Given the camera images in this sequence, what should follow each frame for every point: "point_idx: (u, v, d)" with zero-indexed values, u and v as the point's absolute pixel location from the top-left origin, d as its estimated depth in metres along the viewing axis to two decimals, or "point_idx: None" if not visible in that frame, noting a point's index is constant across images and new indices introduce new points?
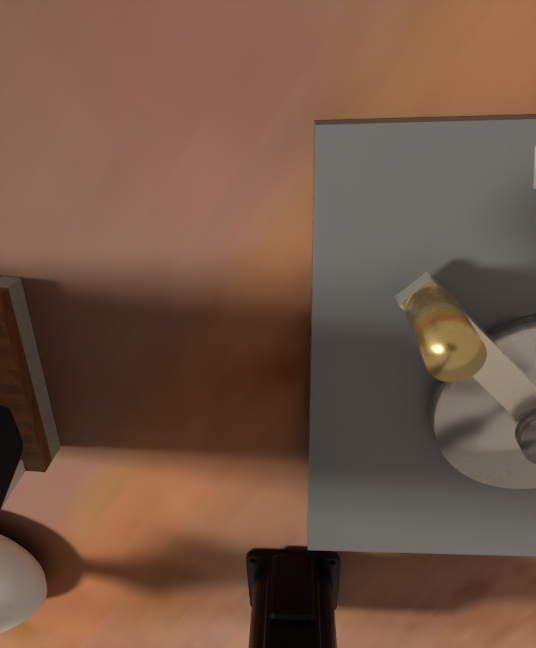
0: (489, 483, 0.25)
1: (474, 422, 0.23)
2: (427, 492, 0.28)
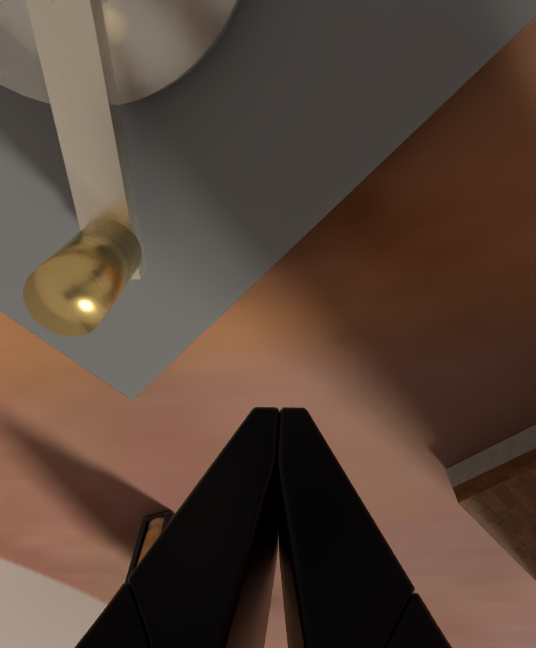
0: None
1: None
2: None
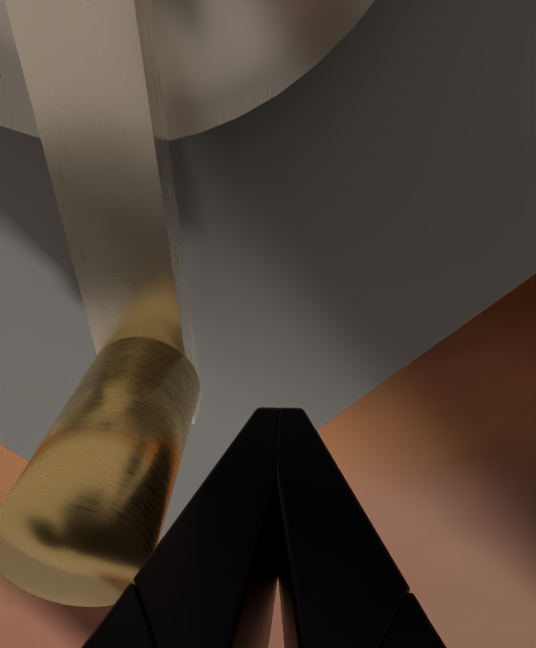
0: None
1: None
2: None
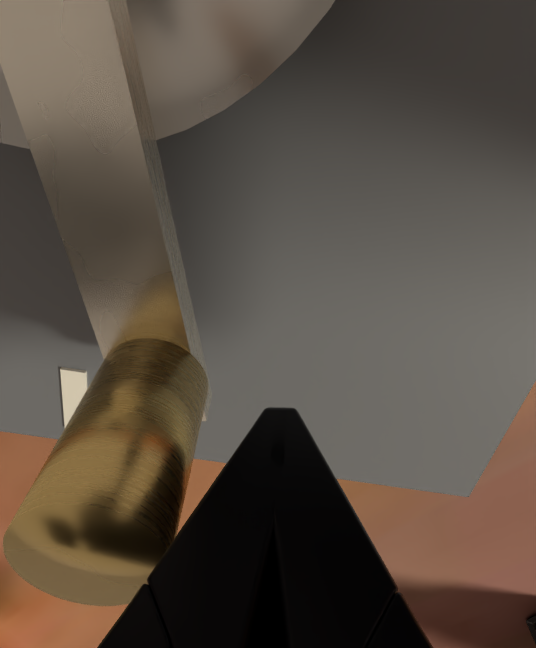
0: None
1: None
2: None
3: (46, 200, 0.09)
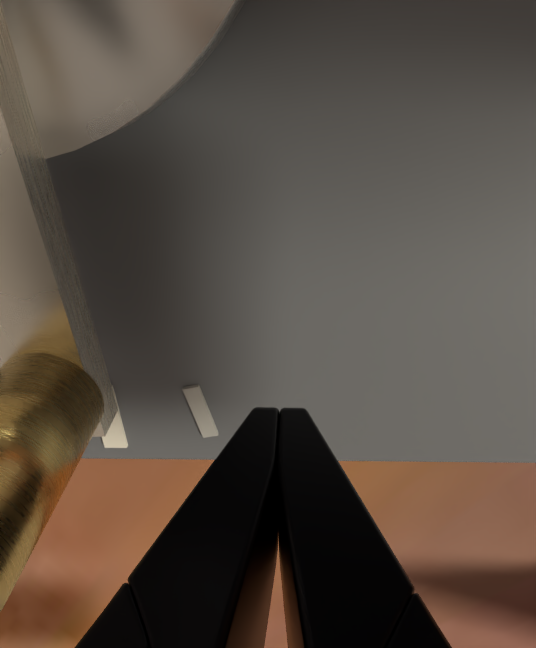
0: None
1: None
2: None
3: None
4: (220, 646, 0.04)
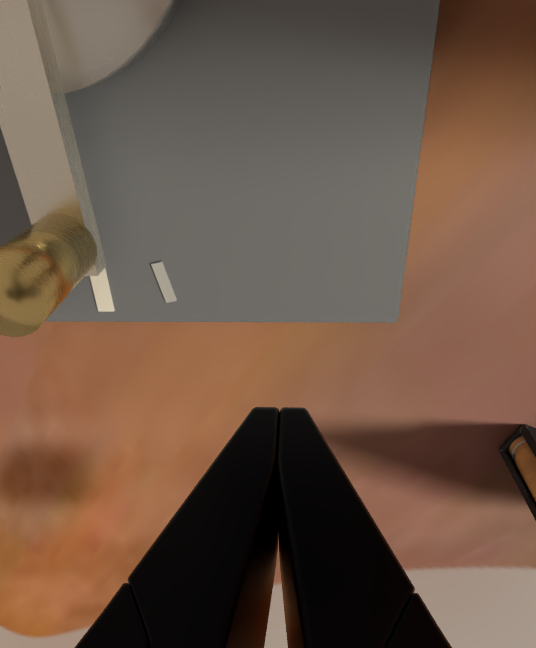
0: None
1: None
2: None
3: None
4: (220, 646, 0.04)
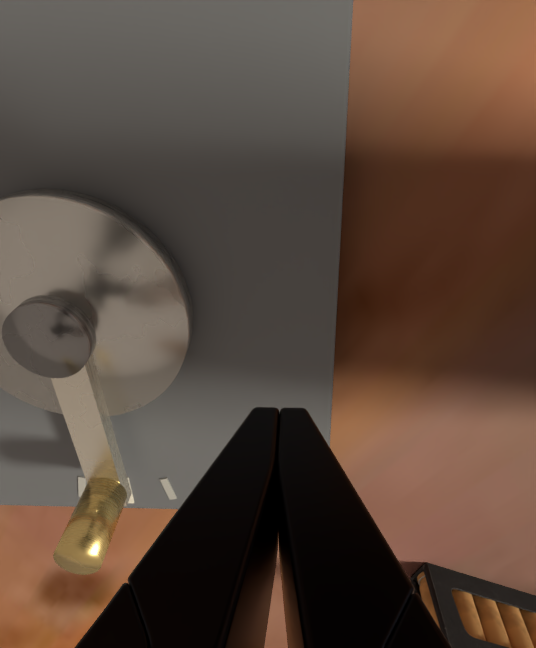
0: (162, 269, 0.18)
1: (133, 360, 0.20)
2: (145, 120, 0.16)
3: None
4: (220, 646, 0.04)
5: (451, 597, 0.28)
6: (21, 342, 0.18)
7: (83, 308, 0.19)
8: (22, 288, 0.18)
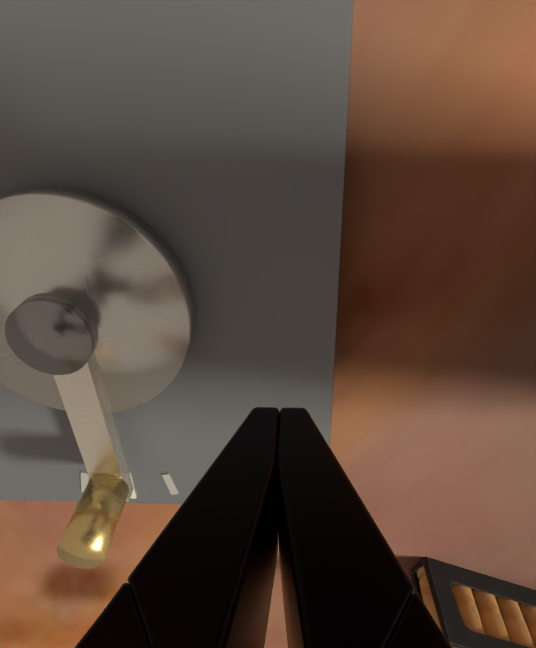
0: (163, 267, 0.18)
1: (135, 357, 0.20)
2: (147, 118, 0.16)
3: None
4: (220, 646, 0.04)
5: (450, 591, 0.29)
6: (24, 339, 0.18)
7: (85, 305, 0.19)
8: (24, 286, 0.18)
